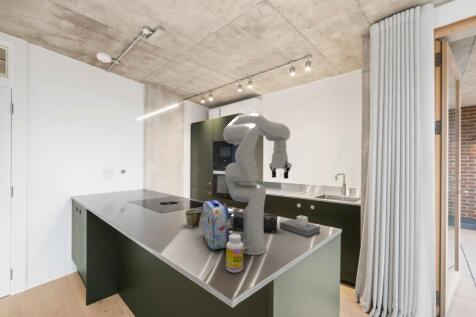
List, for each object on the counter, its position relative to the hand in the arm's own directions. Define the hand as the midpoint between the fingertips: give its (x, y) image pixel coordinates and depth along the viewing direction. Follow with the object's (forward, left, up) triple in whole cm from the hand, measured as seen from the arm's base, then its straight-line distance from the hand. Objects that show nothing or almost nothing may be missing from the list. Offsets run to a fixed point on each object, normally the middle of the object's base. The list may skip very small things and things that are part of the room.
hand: (279, 178), depth 131 cm
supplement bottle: (-50, -21, -32) cm, 63 cm away
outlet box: (+9, -8, -32) cm, 34 cm away
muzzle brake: (-12, +10, -32) cm, 36 cm away
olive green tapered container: (-39, +37, -32) cm, 63 cm away
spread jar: (-23, +25, -32) cm, 47 cm away
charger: (+9, -10, -31) cm, 34 cm away
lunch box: (-42, +6, -32) cm, 53 cm away
